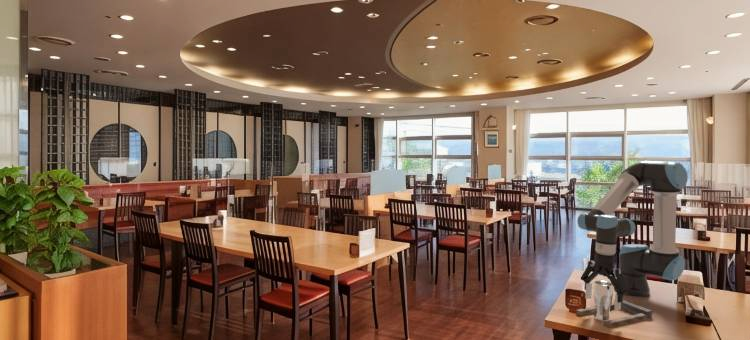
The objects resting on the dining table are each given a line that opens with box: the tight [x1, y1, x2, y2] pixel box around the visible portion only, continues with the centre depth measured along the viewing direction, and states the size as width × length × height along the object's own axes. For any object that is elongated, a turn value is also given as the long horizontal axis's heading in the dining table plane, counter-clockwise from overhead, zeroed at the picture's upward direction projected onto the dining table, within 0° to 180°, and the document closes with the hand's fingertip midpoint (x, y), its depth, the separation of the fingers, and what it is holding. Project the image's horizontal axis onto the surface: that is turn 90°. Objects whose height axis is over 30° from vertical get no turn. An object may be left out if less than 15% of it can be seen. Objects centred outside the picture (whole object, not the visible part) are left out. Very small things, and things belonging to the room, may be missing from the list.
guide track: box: [575, 299, 653, 329], centre depth 183 cm, size 26×15×3 cm, turn 114°
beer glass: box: [593, 280, 614, 322], centre depth 179 cm, size 7×7×15 cm
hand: (602, 303), depth 179 cm, fingers open, 13 cm apart
